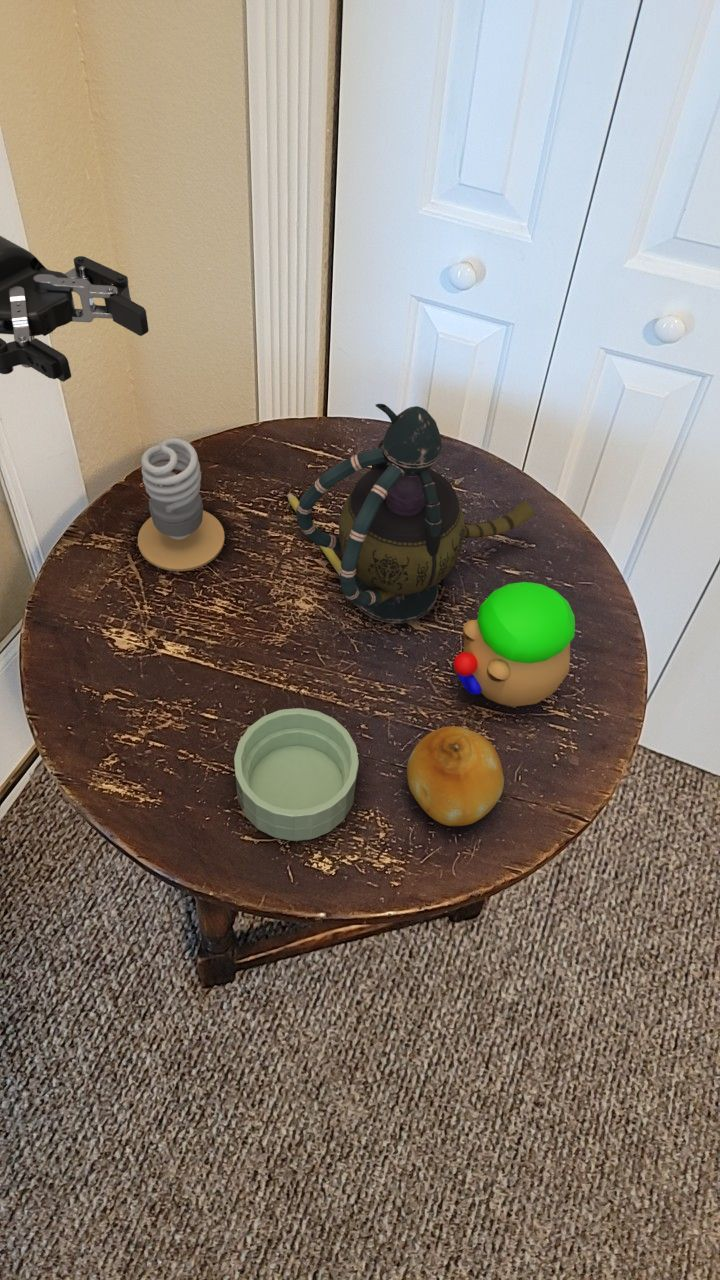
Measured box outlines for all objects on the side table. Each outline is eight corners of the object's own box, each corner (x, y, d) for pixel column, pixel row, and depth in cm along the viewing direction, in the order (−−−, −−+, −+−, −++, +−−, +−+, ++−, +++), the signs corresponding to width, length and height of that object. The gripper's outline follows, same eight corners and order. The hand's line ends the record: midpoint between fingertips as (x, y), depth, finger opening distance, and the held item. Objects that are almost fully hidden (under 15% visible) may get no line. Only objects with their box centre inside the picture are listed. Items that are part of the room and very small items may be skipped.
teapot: (289, 576, 95) (288, 391, 77) (493, 505, 104) (535, 322, 85) (343, 662, 89) (356, 482, 71) (555, 578, 97) (615, 398, 79)
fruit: (372, 781, 79) (426, 760, 72) (421, 720, 84) (476, 696, 77) (435, 850, 80) (493, 836, 73) (480, 786, 85) (538, 767, 78)
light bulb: (204, 557, 96) (194, 470, 86) (149, 555, 96) (133, 467, 86) (210, 518, 99) (201, 430, 90) (157, 516, 99) (142, 427, 90)
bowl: (265, 862, 76) (263, 835, 72) (219, 763, 82) (216, 733, 78) (375, 815, 80) (379, 786, 76) (324, 723, 85) (326, 692, 81)
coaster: (154, 582, 94) (154, 579, 94) (126, 523, 99) (126, 520, 98) (237, 555, 97) (237, 553, 96) (206, 500, 102) (206, 497, 101)
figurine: (525, 632, 93) (552, 550, 83) (576, 707, 87) (610, 629, 78) (424, 665, 90) (439, 583, 80) (469, 745, 84) (491, 668, 75)
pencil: (290, 492, 103) (290, 485, 102) (349, 578, 96) (350, 571, 95) (282, 495, 103) (282, 488, 102) (341, 581, 95) (341, 574, 95)
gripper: (-106, 265, 75) (27, 345, 70) (33, 202, 83) (164, 270, 77) (-77, 345, 81) (48, 425, 76) (50, 280, 88) (173, 348, 83)
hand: (106, 346), depth 76 cm, fingers open, 8 cm apart
